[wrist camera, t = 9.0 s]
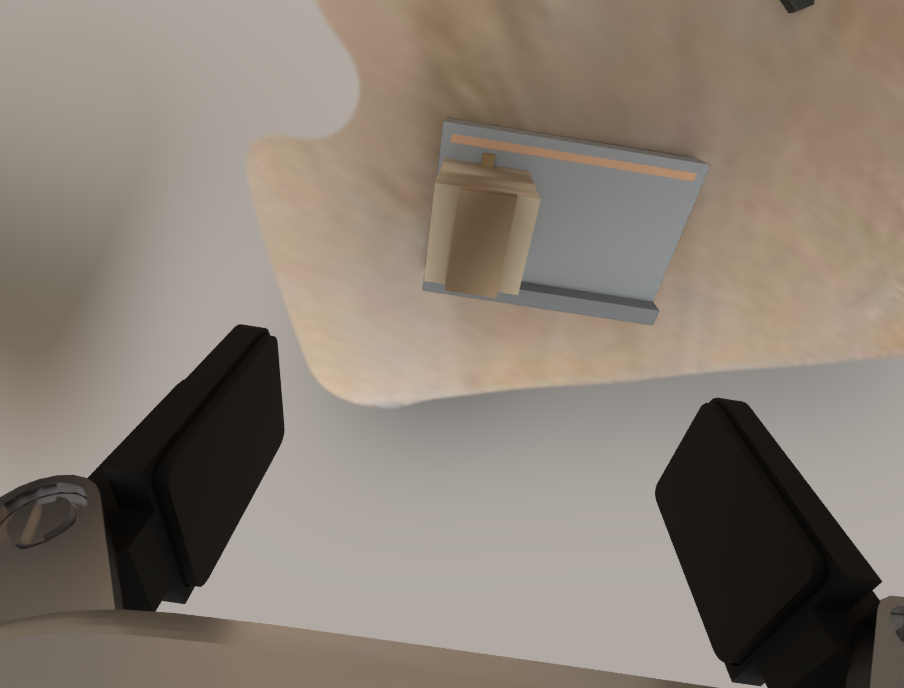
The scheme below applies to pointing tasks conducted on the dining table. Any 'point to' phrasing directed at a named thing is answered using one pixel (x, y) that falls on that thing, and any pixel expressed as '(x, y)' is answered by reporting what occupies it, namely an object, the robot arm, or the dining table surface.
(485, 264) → the tan wooden block
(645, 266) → the board
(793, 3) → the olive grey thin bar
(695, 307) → the dining table surface
